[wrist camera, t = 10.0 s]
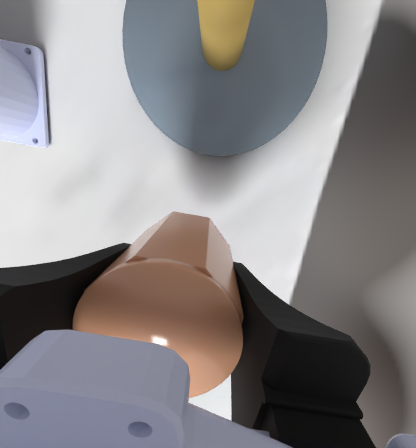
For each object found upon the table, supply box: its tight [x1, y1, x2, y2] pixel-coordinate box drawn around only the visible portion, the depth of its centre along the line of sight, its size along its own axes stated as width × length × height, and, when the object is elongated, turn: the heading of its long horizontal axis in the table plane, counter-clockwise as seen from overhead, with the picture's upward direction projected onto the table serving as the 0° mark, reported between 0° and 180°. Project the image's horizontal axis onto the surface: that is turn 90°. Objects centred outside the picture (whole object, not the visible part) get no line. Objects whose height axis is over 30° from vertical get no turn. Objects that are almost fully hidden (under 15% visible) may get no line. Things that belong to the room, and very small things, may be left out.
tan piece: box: [73, 211, 244, 398], centre depth 10 cm, size 6×6×7 cm
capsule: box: [197, 0, 255, 71], centre depth 13 cm, size 3×3×5 cm
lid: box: [123, 0, 327, 156], centre depth 16 cm, size 16×16×1 cm
